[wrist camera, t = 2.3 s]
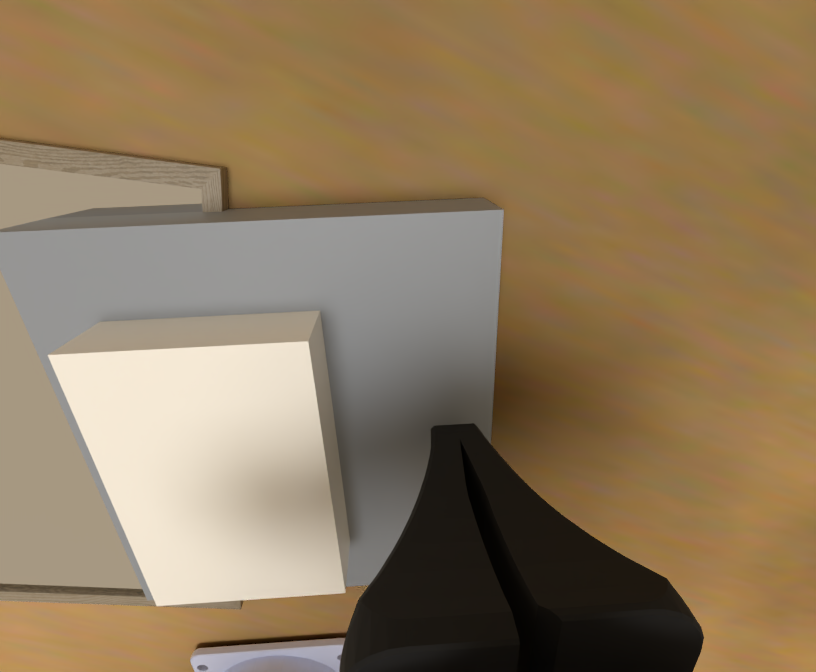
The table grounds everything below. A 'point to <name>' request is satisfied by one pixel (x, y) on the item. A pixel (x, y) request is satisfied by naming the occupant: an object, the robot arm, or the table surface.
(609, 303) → the table surface
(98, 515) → the picture frame
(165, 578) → the tile
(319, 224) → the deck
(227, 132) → the table surface
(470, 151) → the table surface
